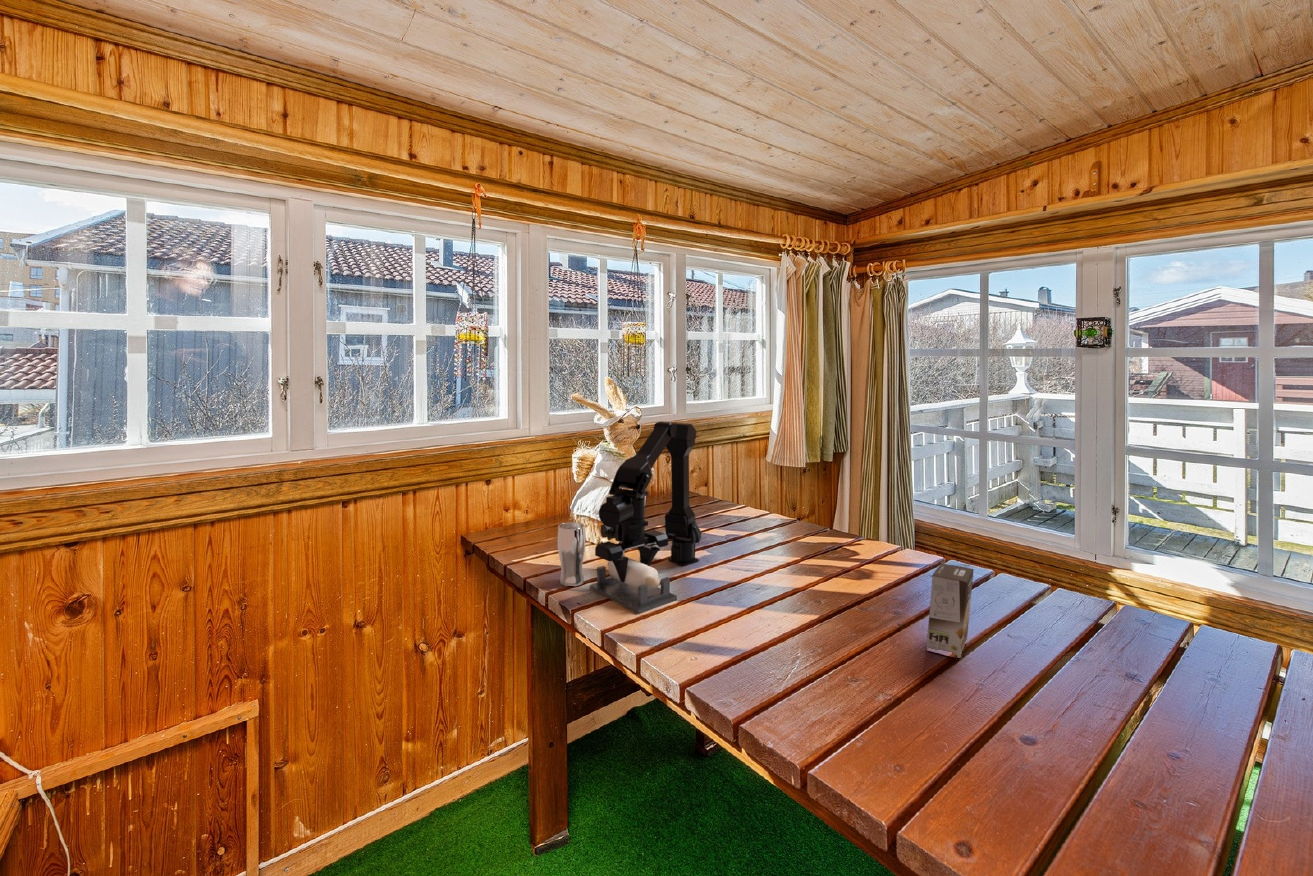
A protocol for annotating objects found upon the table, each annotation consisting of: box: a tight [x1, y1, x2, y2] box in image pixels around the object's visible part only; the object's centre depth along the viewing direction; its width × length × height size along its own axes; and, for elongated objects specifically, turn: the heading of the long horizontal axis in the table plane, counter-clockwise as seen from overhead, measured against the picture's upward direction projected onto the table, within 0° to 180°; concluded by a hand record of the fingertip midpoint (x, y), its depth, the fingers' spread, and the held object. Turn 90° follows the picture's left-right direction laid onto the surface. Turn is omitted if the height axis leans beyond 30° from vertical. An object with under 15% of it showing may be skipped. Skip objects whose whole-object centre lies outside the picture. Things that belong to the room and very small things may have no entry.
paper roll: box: [607, 556, 661, 593], centre depth 147 cm, size 17×6×6 cm, turn 42°
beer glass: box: [557, 521, 586, 587], centre depth 154 cm, size 7×7×15 cm
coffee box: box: [926, 563, 975, 659], centre depth 122 cm, size 9×6×16 cm
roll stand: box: [589, 565, 678, 615], centre depth 148 cm, size 12×19×6 cm, turn 41°
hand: (632, 578), depth 148 cm, fingers closed on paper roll, 6 cm apart
